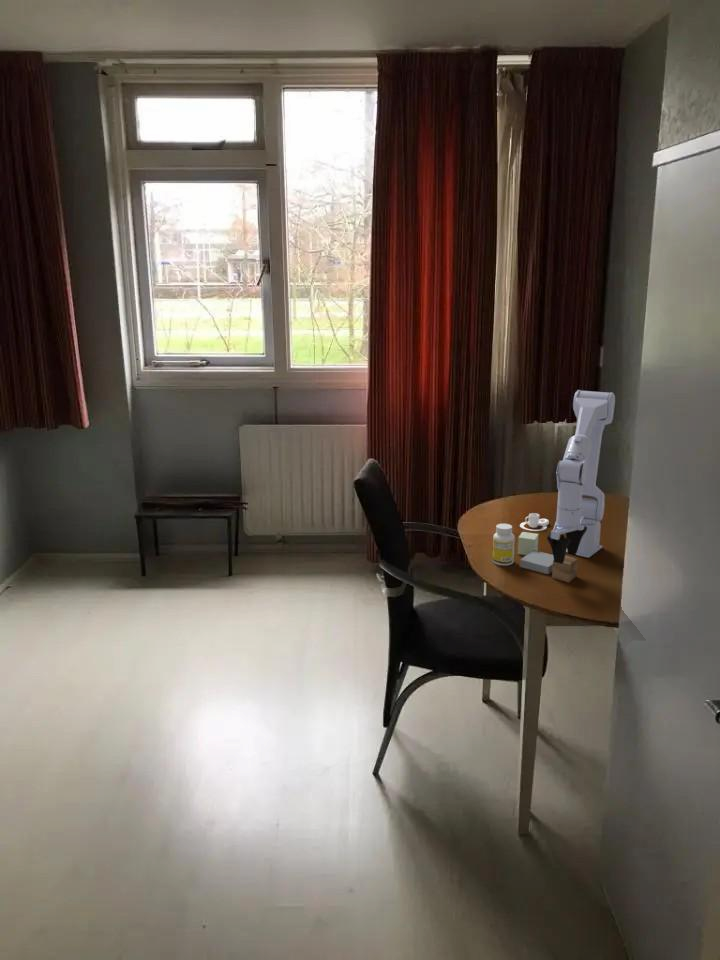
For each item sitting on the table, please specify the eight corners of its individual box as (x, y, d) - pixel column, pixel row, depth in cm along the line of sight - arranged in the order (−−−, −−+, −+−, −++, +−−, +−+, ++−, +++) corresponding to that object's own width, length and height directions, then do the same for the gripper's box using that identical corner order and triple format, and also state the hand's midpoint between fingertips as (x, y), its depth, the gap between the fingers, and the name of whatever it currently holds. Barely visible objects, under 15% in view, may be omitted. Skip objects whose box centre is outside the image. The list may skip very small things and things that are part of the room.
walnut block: (559, 572, 199) (561, 554, 197) (576, 576, 196) (577, 558, 195) (551, 578, 196) (553, 559, 194) (568, 582, 193) (569, 564, 191)
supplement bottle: (498, 556, 209) (500, 520, 206) (517, 561, 206) (519, 525, 203) (488, 562, 205) (489, 526, 202) (507, 568, 202) (508, 531, 199)
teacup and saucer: (547, 523, 234) (548, 510, 233) (551, 532, 227) (552, 519, 225) (518, 522, 235) (519, 510, 234) (521, 532, 227) (522, 519, 226)
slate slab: (533, 558, 208) (534, 550, 208) (561, 565, 204) (562, 557, 203) (519, 568, 203) (520, 559, 202) (547, 575, 198) (548, 567, 197)
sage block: (521, 548, 214) (522, 531, 213) (537, 550, 213) (538, 533, 211) (517, 554, 211) (518, 537, 209) (533, 556, 209) (534, 539, 207)
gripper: (571, 518, 182) (567, 570, 186) (596, 502, 193) (592, 552, 197) (544, 512, 187) (541, 563, 191) (570, 497, 197) (566, 546, 201)
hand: (565, 557), depth 194 cm, fingers open, 7 cm apart
